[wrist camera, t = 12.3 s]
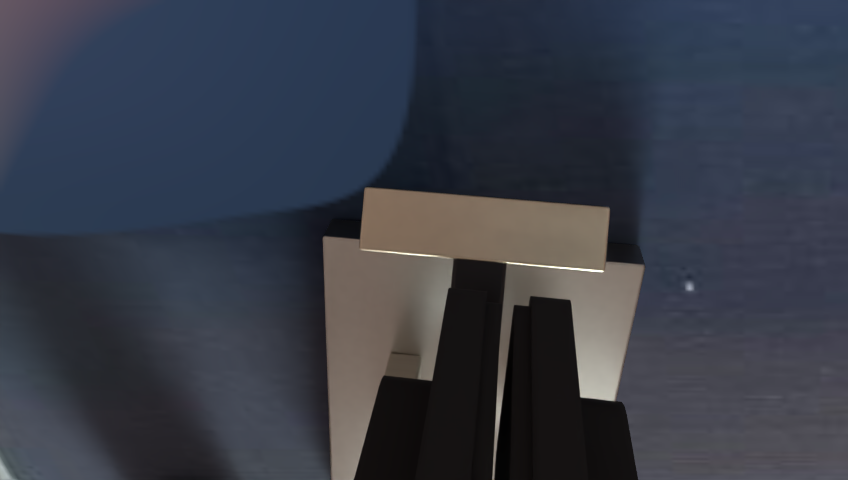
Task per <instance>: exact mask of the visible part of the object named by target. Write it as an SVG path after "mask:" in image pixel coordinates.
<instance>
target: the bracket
mask: <svg viewBox="0 0 848 480" xmlns="http://www.w3.org/2000/svg"><path fill="white" fill-rule="evenodd" d="M360 231H361V221H352V220H341V219H332V220H331V222H330V224H329V226H328V228H327V230H326V232H325V234H324V236H323V238H322V239H323V268H324V296H325V325H326V354H327V382H328V411H329V440H330V469H331V480H354V477H355V473H356V470H357V466H358V462H359V459H360V455H361V451H362V447H363V444H364V440H365V436H366V433H367V429H368V425H369V422H370V418H371V414H372V410H373V407H374V403H375V399H376V396H377V392H378V388H379V385H380V382H381V379H382V377H383V376H384V375H385V376H394V377H403V378H412V379H421V380H430V381H432V378H433V373H434V367H435V361H436V355H437V350H438V344H439V338H440V333H441V327H442V321H443V315H444V310H445V304H446V298H447V293H448V288H451V281H452V269H453V259H451V258H440V257H429V256H418V255H407V254H396V253H385V252H374V251H363V250H360V248H359V242H360ZM644 271H645V263H644V260H643V257H642V254H641V251H640V247H639V246H637V245H627V244H616V243H607V254H606V265H605V270H604V272H595V271H584V270H573V269H562V268H551V267H540V266H529V265H518V264H507V268H506V279H505V291H504V302H503V313H502V325H501V336H500V347H499V364H498V383H497V402H496V420H495V439H494V458H493V476H492V480H494V475H495V460H496V449H497V440H498V432H499V424H500V415H501V407H502V399H503V390H504V382H505V374H506V365H507V357H508V349H509V340H510V332H511V324H512V315H513V308H514V305H522V306H528V305H529V300H530V296H537V297H547V298H557V299H567V300H570V301H571V305H572V316H573V326H574V336H575V347H576V357H577V367H578V378H579V388H580V397H582V398H591V399H600V400H609V401H616V399H617V394H618V389H619V385H620V380H621V376H622V371H623V367H624V362H625V358H626V353H627V348H628V344H629V339H630V335H631V330H632V326H633V321H634V317H635V312H636V307H637V303H638V298H639V294H640V289H641V285H642V280H643V276H644Z"/></svg>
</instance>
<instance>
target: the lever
mask: <svg viewBox="0 0 848 480" xmlns="http://www.w3.org/2000/svg"><path fill="white" fill-rule="evenodd" d="M609 219H610V208H609V207H607V206H596V205H583V204H571V203H559V202H547V201H535V200H523V199H511V198H499V197H487V196H475V195H463V194H451V193H439V192H427V191H415V190H403V189H391V188H379V187H365V189H364V198H363V209H362V220H361V231H360V242H359V248H360V250H363V251H374V252H385V253H396V254H407V255H418V256H429V257H440V258H451V259H453V269H452V281H451V288H457V289H467V290H477V291H487V299H486V302H493V303H502V309H501V325H502V313H503V302H504V291H505V279H506V268H507V264H518V265H529V266H540V267H551V268H562V269H573V270H584V271H595V272H604V270H605V265H606V254H607V242H608V231H609ZM500 336H501V327H500ZM499 347H500V346H499Z"/></svg>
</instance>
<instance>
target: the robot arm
mask: <svg viewBox="0 0 848 480" xmlns="http://www.w3.org/2000/svg"><path fill="white" fill-rule="evenodd" d="M486 299H487V291H477V290H467V289H457V288H448V293H447V298H446V304H445V310H444V315H443V321H442V327H441V333H440V338H439V344H438V350H437V355H436V361H435V367H434V373H433V378H432V381H430V380H421V379H412V378H403V377H394V376H385V375H384V376H383V377H382V379H381V382H380V385H379V388H378V392H377V396H376V399H375V403H374V407H373V410H372V414H371V418H370V422H369V425H368V429H367V433H366V436H365V440H364V444H363V447H362V451H361V455H360V459H359V462H358V466H357V470H356V473H355V477H354V480H492V476H493V458H494V439H495V420H496V402H497V383H498V364H499V346H500V327H501V309H502V303H493V302H486ZM494 480H638V477H637V471H636V466H635V460H634V454H633V448H632V443H631V437H630V431H629V425H628V420H627V414H626V410H625V407H624V405H623V403H622V402H618V401H609V400H600V399H591V398H582V397H580V388H579V378H578V367H577V357H576V347H575V336H574V326H573V316H572V305H571V301H570V300H567V299H557V298H547V297H537V296H530V300H529V305H528V306H522V305H514V308H513V315H512V324H511V332H510V340H509V349H508V357H507V365H506V374H505V382H504V390H503V399H502V407H501V415H500V424H499V432H498V440H497V449H496V460H495V475H494Z"/></svg>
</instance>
